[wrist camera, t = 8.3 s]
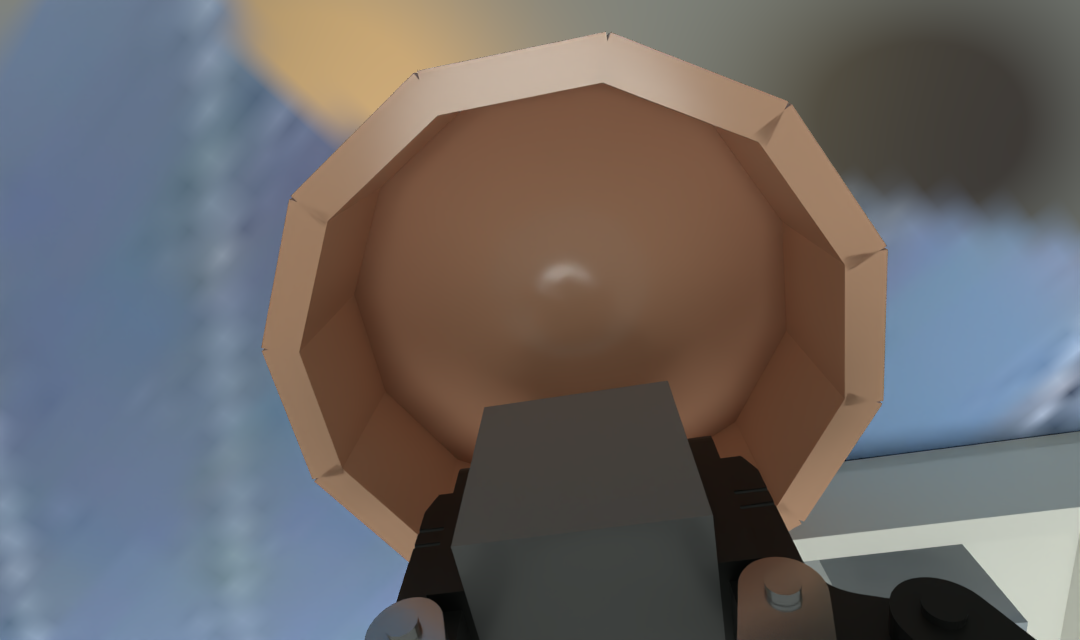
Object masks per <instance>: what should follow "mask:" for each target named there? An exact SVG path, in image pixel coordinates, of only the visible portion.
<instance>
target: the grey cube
mask: <svg viewBox="0 0 1080 640" xmlns="http://www.w3.org/2000/svg"><path fill="white" fill-rule="evenodd" d="M804 563H805V564H806V565H808V566H810V567H811V568H813V569H814V570H815V571H816V572H818V573H819V574H820V575H821V576H822V578H823V579H824V580H825V582H826V583H828V584H830V585H832V586H834V587H836V588H839V589H842V590H845V591H848V592H853V593H858V594H864V595H871V596H877V597H884V598H890V595H891V592H892V591H893V589H894V588H895V587H896V586H897V585H898V584H900V583H901V582H903V581H905V580H908V579H912V578H918V577H932V578H939V579H944V580H948V581H951V582H954V583H957V584H959V585H962V586H964V587H966V588H968V589H970V590H971V591H973V592H975V593H976V594H978V595H979V596H980V597H982V598H983V599H984V600H986V601H987V602H988V603H990V604H991V605H992V606H993V607H995V608H996V609H997V610H999V611H1000V612H1001V613H1003V614H1004V615H1005V616H1006V617H1008V618H1009V619H1010V620H1012V621H1013V622H1014V623H1015V624H1017V625H1018V626H1019V627H1021V628H1022V629H1023V630H1024V631H1026V632H1027V626H1028V621H1027V620H1026V619H1025V618H1024V617H1023V616H1022V614H1021V613H1020V612H1019V611H1018V610H1017V608H1016V607H1015V606H1014V605H1013V604H1012V602H1011V601H1010V600H1009V599H1008V598H1007V597H1006V595H1005V594H1004V593H1003V592H1002V591H1001V589H1000V588H999V587H998V586H997V585H996V583H995V582H994V581H993V580H992V579H991V578H990V576H989V575H988V574H987V573H986V572H985V570H984V569H983V568H982V567H981V566H980V565H979V563H978V562H977V561H976V560H975V559H974V557H973V556H972V555H971V554H970V553H969V551H968V550H967V549H966V548H965V547H964V546H963V544H957V545H948V546H939V547H930V548H921V549H912V550H903V551H894V552H885V553H876V554H867V555H858V556H849V557H840V558H831V559H822V560H813V561H804Z"/></svg>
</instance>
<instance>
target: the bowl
mask: <svg viewBox="0 0 1080 640" xmlns="http://www.w3.org/2000/svg"><path fill="white" fill-rule="evenodd" d="M417 72H418V73H413V74H412V75H411V76H410V77H409V78H408V79H407V80H406V81H405V82H404V83H403V84H402V85H401V86H400V87H399V88H398V89H397V90H396V91H395V92H394V93H393V94H392V95H391V96H390V97H389V98H388V99H387V100H386V101H385V102H384V103H383V104H382V105H381V106H380V107H379V108H378V109H377V110H376V111H375V112H374V113H373V114H372V115H371V116H370V117H369V118H368V119H367V120H366V121H365V122H364V123H363V124H362V125H361V126H360V127H359V128H358V129H357V130H356V131H355V132H354V133H353V134H352V135H351V136H350V137H349V138H348V139H347V140H346V141H345V142H344V143H343V144H342V145H341V146H340V147H339V148H338V149H337V150H336V151H335V152H334V153H333V154H332V155H331V156H330V157H329V158H328V159H327V160H326V161H325V162H324V163H323V164H322V165H321V166H320V167H319V168H318V169H317V170H316V171H315V172H314V173H313V174H312V175H311V176H310V177H309V178H308V179H307V180H306V181H305V182H304V183H303V184H302V185H301V186H300V187H299V188H298V189H297V190H296V191H295V192H294V193H293V194H292V195H291V196H292V197H293V198H291V199H289V203H288V209H287V214H286V219H285V224H284V230H283V235H282V240H281V246H280V251H279V256H278V262H277V267H276V272H275V278H274V283H273V288H272V294H271V299H270V304H269V310H268V315H267V320H266V326H265V331H264V336H263V342H262V347H261V348H264V349H263V350H262V353H263V355H264V358H265V360H266V363H267V366H268V368H269V371H270V373H271V376H272V378H273V381H274V383H275V386H276V388H277V391H278V393H279V396H280V398H281V401H282V403H283V406H284V408H285V411H286V413H287V416H288V418H289V421H290V423H291V426H292V429H293V431H294V434H295V436H296V439H297V441H298V444H299V446H300V449H301V451H302V454H303V456H304V459H305V461H306V464H307V466H308V469H309V471H310V474H311V476H312V479H316V480H315V481H314V482H316V483H317V484H318V485H319V486H320V487H321V488H323V489H324V490H325V491H326V492H327V493H328V494H330V495H331V496H332V497H333V498H334V499H335V500H337V501H338V502H339V503H340V504H341V505H343V506H344V507H345V508H346V509H347V510H348V511H350V512H351V513H352V514H353V515H354V516H355V517H357V518H358V519H359V520H360V521H361V522H362V523H364V524H365V525H366V526H367V527H368V528H369V529H371V530H372V531H373V532H374V533H375V534H377V535H378V536H379V537H380V538H381V539H382V540H384V541H385V542H386V543H387V544H388V545H389V546H391V547H392V548H393V549H394V550H395V551H396V552H398V553H399V554H400V555H401V556H402V557H404V558H405V559H406V560H407V561H408V562H409V561H410V558H411V554H412V551H413V549H415V542H416V539H417V536H418V534H419V533H420V531H419V529H420V526H421V523H422V520H423V517H424V513H425V511H426V510H427V509H428V508H429V506H430V505H431V504H432V503H433V502H434V500H435V499H436V498H437V497H438V496H439V495H441V494H449V493H453V491H454V488H455V484H456V480H457V476H458V473H459V470H460V469H463V468H470V465H471V461H472V457H473V452H474V448H475V444H476V440H477V436H478V432H479V427H480V423H481V419H482V415H483V411H484V407H489V406H496V405H503V404H510V403H517V402H524V401H531V400H538V399H544V398H551V397H558V396H565V395H572V394H579V393H586V392H593V391H599V390H606V389H613V388H620V387H627V386H634V385H641V384H647V383H654V382H661V381H668V383H669V386H670V389H671V392H672V395H673V398H674V401H675V404H676V407H677V410H678V413H679V416H680V418H681V421H682V424H683V427H684V430H685V433H686V436H687V439H688V438H696V437H703V436H711V437H712V439H713V441H714V443H715V446H716V448H717V451H718V453H719V456H720V458H727V457H735V456H742V457H743V458H744V459H746V460H747V461H748V462H749V463H751V464H752V465H753V466H754V467H756V468H757V469H758V470H759V472H760V474H761V476H762V478H763V480H764V482H765V484H766V486H767V490H769V492H770V495H771V497H772V499H773V501H774V505H776V507H777V509H778V511H779V513H780V515H781V517H782V519H783V521H784V523H785V525H786V527H787V529H788V531H790V530H792V529H793V528H795V527H797V526H799V525H801V524H802V523H801V521H805V520H806V518H807V517H808V515H809V514H810V512H811V511H812V509H813V508H814V506H815V505H816V503H817V502H818V500H819V499H820V497H821V496H822V494H823V493H824V491H825V490H826V488H827V487H828V485H829V483H830V482H831V480H832V479H833V477H834V476H835V474H836V473H837V471H838V470H839V468H840V467H841V465H842V464H843V462H844V461H845V459H846V458H847V456H848V455H849V453H850V452H851V450H852V449H853V447H854V446H855V444H856V443H857V441H858V440H859V438H860V437H861V435H862V434H863V432H864V431H865V429H866V428H867V426H868V425H869V423H870V422H871V420H872V419H873V417H874V416H875V414H876V413H877V411H878V410H879V408H880V407H881V405H882V403H881V402H880V401H883V394H884V360H885V325H886V290H887V256H888V250H887V249H886V248H884V247H886V244H885V243H884V241H883V240H882V238H881V237H880V235H879V234H878V232H877V231H876V229H875V228H874V226H873V225H872V223H871V222H870V220H869V219H868V217H867V216H866V214H865V213H864V211H863V210H862V208H861V207H860V205H859V204H858V202H857V201H856V199H855V198H854V196H853V195H852V193H851V192H850V190H849V189H848V187H847V186H846V184H845V183H844V181H843V180H842V178H841V177H840V175H839V174H838V173H837V171H836V169H835V168H834V166H833V165H832V164H831V162H830V161H829V159H828V158H827V156H826V155H825V153H824V152H823V150H822V149H821V147H820V146H819V144H818V143H817V141H816V140H815V138H814V137H813V135H812V134H811V132H810V131H809V129H808V128H807V126H806V125H805V123H804V122H803V120H802V119H801V117H800V116H799V114H798V113H797V111H796V110H795V108H794V107H793V105H792V104H788V101H786V100H783V99H781V98H778V97H775V96H773V95H770V94H768V93H765V92H763V91H760V90H758V89H755V88H752V87H750V86H747V85H745V84H742V83H740V82H737V81H734V80H732V79H730V78H727V77H724V76H722V75H719V74H717V73H714V72H712V71H709V70H706V69H704V68H701V67H699V66H696V65H694V64H691V63H689V62H686V61H684V60H681V59H678V58H676V57H673V56H671V55H668V54H666V53H663V52H660V51H658V50H656V49H653V48H650V47H648V46H645V45H643V44H640V43H638V42H635V41H633V40H630V39H627V38H625V37H622V36H620V35H617V34H615V33H612V32H610V33H609V34H608V35H606V32H602V33H597V34H592V35H587V36H583V37H578V38H573V39H568V40H564V41H558V42H554V43H549V44H544V45H540V46H534V47H530V48H525V49H521V50H515V51H510V52H506V53H501V54H496V55H492V56H486V57H482V58H477V59H473V60H467V61H462V62H458V63H453V64H448V65H443V66H438V67H434V68H429V69H424V70H420V71H417ZM800 520H801V521H800Z"/></svg>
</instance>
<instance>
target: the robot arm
mask: <svg viewBox="0 0 1080 640" xmlns="http://www.w3.org/2000/svg"><path fill="white" fill-rule="evenodd" d="M688 442H689V445H690V448H691V451H692V454H693V457H694V460H695V463H696V466H697V469H698V472H699V475H700V478H701V481H702V484H703V487H704V490H705V493H706V496H707V499H708V502H709V505H710V508H711V511H712V514H713V521H714V531H715V541H716V551H717V561H718V571H719V581H720V591H721V601H722V611H723V622H724V632H725V640H1036V639H1035V638H1034V637H1032V636H1031V635H1030V634H1028V633H1027V632H1026V631H1024V630H1023V629H1022V628H1021V627H1019V626H1018V625H1017V624H1015V623H1014V622H1013V621H1012V620H1010V619H1009V618H1008V617H1006V616H1005V615H1004V614H1003V613H1001V612H1000V611H999V610H997V609H996V608H995V607H993V606H992V605H991V604H990V603H988V602H987V601H986V600H984V599H983V598H982V597H980V596H979V595H978V594H976V593H975V592H973V591H971V590H970V589H968V588H966V587H964V586H962V585H959V584H957V583H954V582H951V581H948V580H944V579H939V578H932V577H918V578H912V579H908V580H905V581H903V582H901V583H900V584H898V585H897V586H896V587H895V588H894V589H893V591H892V592H891V595H890V598H884V597H877V596H871V595H864V594H858V593H853V592H848V591H845V590H842V589H839V588H836V587H834V586H832V585H830V584H828V583H826V582H825V580H824V579H823V578H822V576H821V575H820V574H819V573H818V572H816V571H815V570H814V569H813V568H811V567H810V566H808V565H806V564H805V563H804V562H803V560H802V558H801V556H800V554H799V552H798V550H797V548H796V546H795V544H794V542H793V540H792V538H791V535H790V533H789V531H788V529H787V527H786V525H785V523H784V521H783V519H782V517H781V515H780V513H779V511H778V509H777V507H776V505H774V501H773V499H772V497H771V495H770V492H769V490H767V486H766V484H765V482H764V480H763V478H762V476H761V474H760V472H759V470H758V469H757V468H756V467H754V466H753V465H752V464H751V463H749V462H748V461H747V460H746V459H744V458H743V457H742V456H735V457H727V458H720V456H719V453H718V451H717V448H716V446H715V443H714V441H713V439H712V437H711V436H703V437H696V438H688ZM469 469H470V468H463V469H460V470H459V473H458V476H457V480H456V484H455V488H454V491H453V493H449V494H441V495H439V496H438V497H437V498H436V499H435V500H434V502H433V503H432V504H431V505H430V506H429V508H428V509H427V510H426V511H425V513H424V517H423V520H422V523H421V526H420V529H419V531H420V533H419V534H418V536H417V539H416V542H415V549H413V551H412V554H411V558H410V561H409V564H408V567H407V570H406V573H405V577H404V580H403V583H402V586H401V589H400V592H399V595H398V599H397V602H396V603H394V604H393V605H391V606H389V607H388V608H386V609H385V610H384V611H382V612H381V613H380V614H379V615H378V616H377V617H376V618H375V619H374V621H373V622H372V623H371V625H370V627H369V628H368V630H367V633H366V636H365V640H479V636H478V633H477V630H476V627H475V623H474V620H473V617H472V614H471V610H470V607H469V604H468V601H467V597H466V594H465V591H464V588H463V585H462V581H461V578H460V575H459V572H458V568H457V565H456V562H455V559H454V555H453V552H452V549H451V544H452V540H453V536H454V532H455V528H456V523H457V519H458V515H459V511H460V507H461V503H462V498H463V494H464V490H465V486H466V482H467V478H468V473H469Z"/></svg>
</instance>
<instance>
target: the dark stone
mask: <svg viewBox="0 0 1080 640" xmlns="http://www.w3.org/2000/svg"><path fill="white" fill-rule="evenodd" d="M451 549H452V552H453V555H454V559H455V562H456V565H457V568H458V572H459V575H460V578H461V581H462V585H463V588H464V591H465V594H466V597H467V601H468V604H469V607H470V610H471V614H472V617H473V620H474V623H475V627H476V630H477V633H478V636H479V640H725V632H724V622H723V611H722V601H721V591H720V581H719V571H718V561H717V551H716V541H715V531H714V521H713V514H712V511H711V508H710V505H709V502H708V499H707V496H706V493H705V490H704V487H703V484H702V481H701V478H700V475H699V472H698V469H697V466H696V463H695V460H694V457H693V454H692V451H691V448H690V445H689V442H688V439H687V436H686V433H685V430H684V427H683V424H682V421H681V418H680V416H679V413H678V410H677V407H676V404H675V401H674V398H673V395H672V392H671V389H670V386H669V383H668V381H661V382H654V383H647V384H641V385H634V386H627V387H620V388H613V389H606V390H599V391H593V392H586V393H579V394H572V395H565V396H558V397H551V398H544V399H538V400H531V401H524V402H517V403H510V404H503V405H496V406H489V407H484V411H483V415H482V419H481V423H480V427H479V432H478V436H477V440H476V444H475V448H474V452H473V457H472V461H471V465H470V469H469V473H468V478H467V482H466V486H465V490H464V494H463V498H462V503H461V507H460V511H459V515H458V519H457V523H456V528H455V532H454V536H453V540H452V544H451Z"/></svg>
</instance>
